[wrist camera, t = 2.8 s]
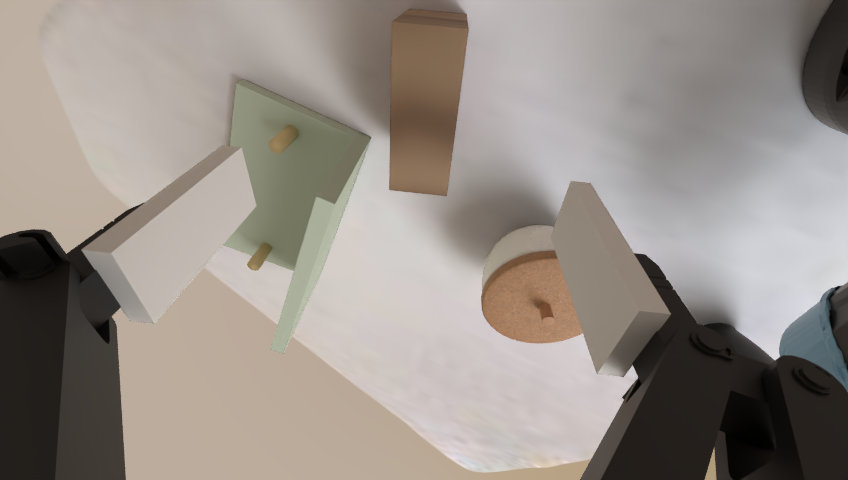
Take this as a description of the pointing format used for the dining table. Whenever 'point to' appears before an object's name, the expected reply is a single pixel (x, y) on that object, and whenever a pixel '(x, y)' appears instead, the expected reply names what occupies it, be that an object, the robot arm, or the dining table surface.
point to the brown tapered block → (425, 98)
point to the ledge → (292, 189)
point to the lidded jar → (528, 289)
